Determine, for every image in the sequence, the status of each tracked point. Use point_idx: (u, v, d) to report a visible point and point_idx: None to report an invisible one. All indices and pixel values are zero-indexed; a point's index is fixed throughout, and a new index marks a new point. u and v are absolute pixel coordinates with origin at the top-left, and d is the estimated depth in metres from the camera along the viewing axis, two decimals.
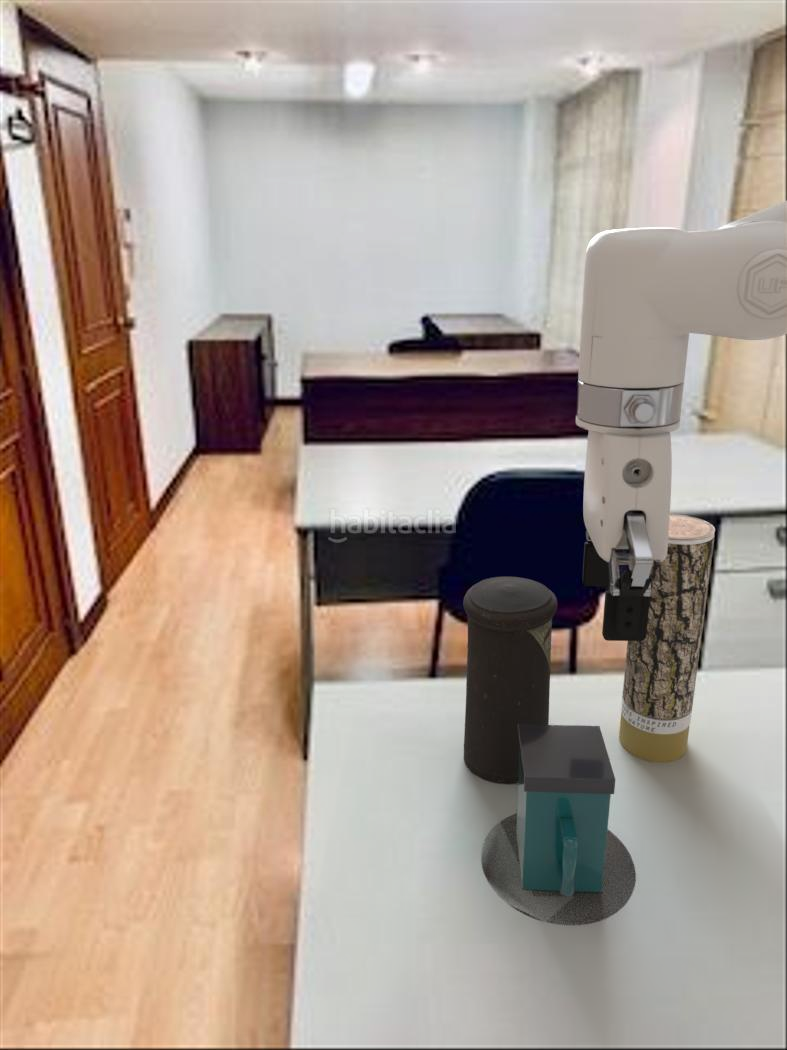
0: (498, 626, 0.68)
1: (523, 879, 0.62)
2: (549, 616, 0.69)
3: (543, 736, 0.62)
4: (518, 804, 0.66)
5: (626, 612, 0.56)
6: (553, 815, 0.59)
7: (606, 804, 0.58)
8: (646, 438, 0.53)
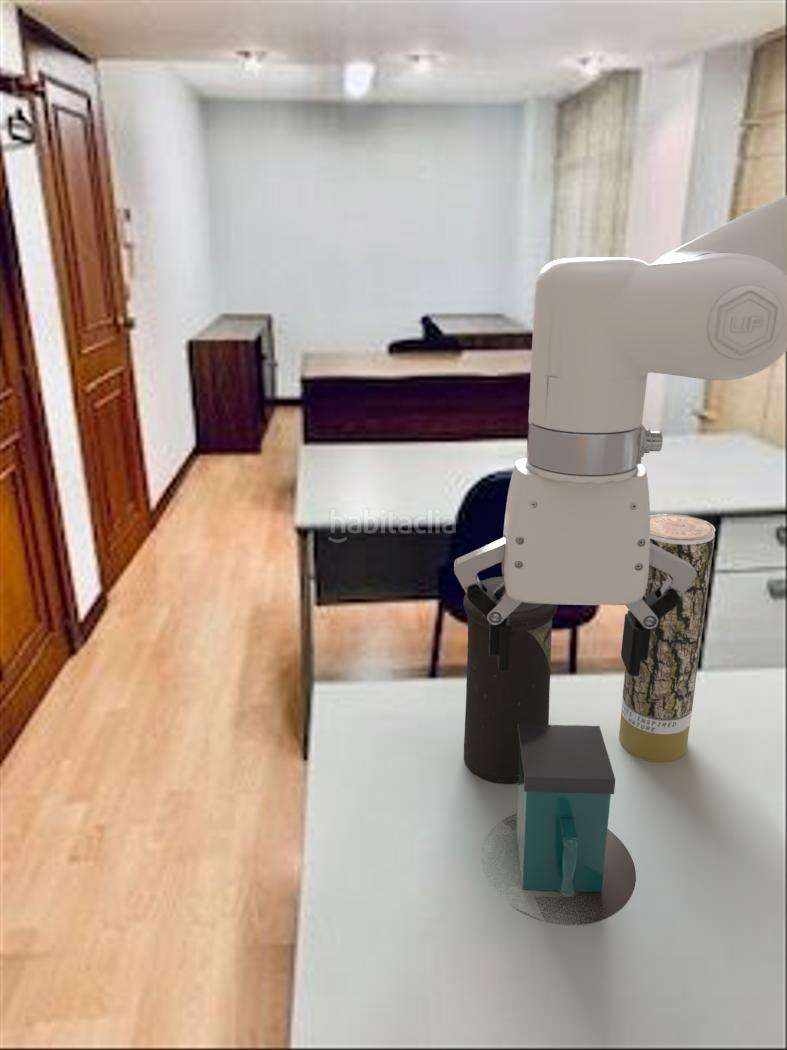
0: None
1: (523, 879, 0.62)
2: (549, 616, 0.69)
3: (543, 736, 0.62)
4: (518, 804, 0.66)
5: None
6: (553, 815, 0.59)
7: (606, 804, 0.58)
8: (644, 467, 0.53)
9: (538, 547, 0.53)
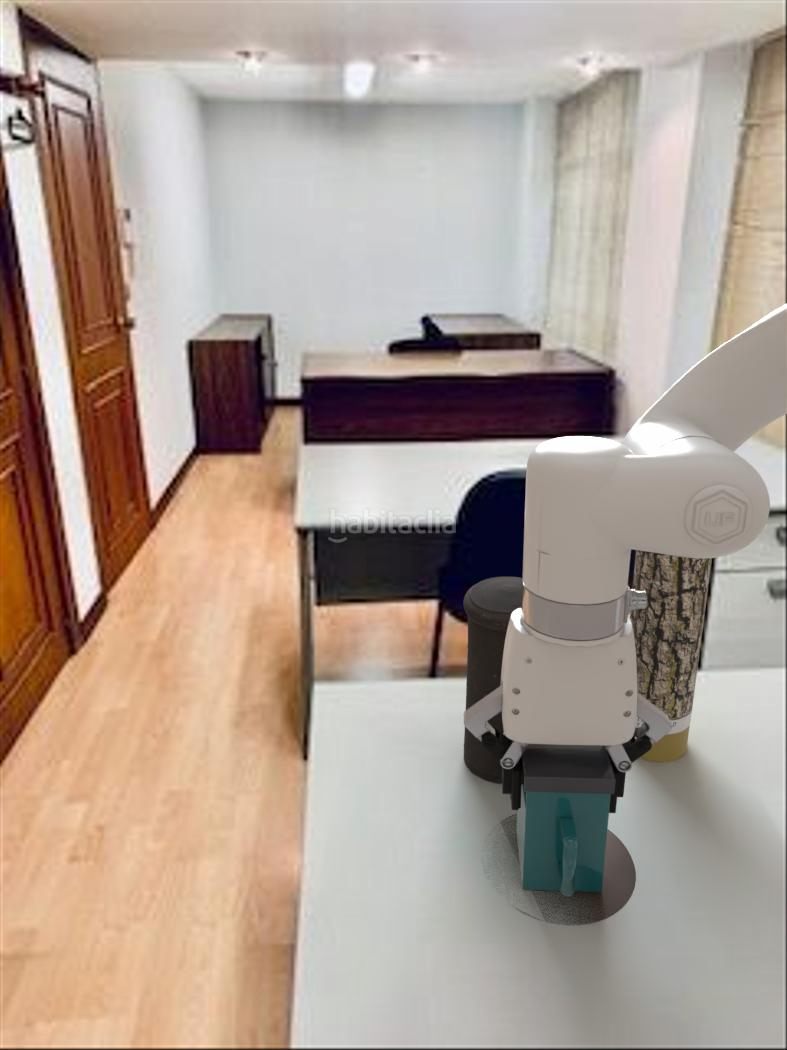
0: (498, 626, 0.68)
1: (523, 879, 0.62)
2: None
3: None
4: None
5: None
6: (553, 815, 0.59)
7: (606, 804, 0.58)
8: (630, 620, 0.57)
9: (533, 697, 0.57)
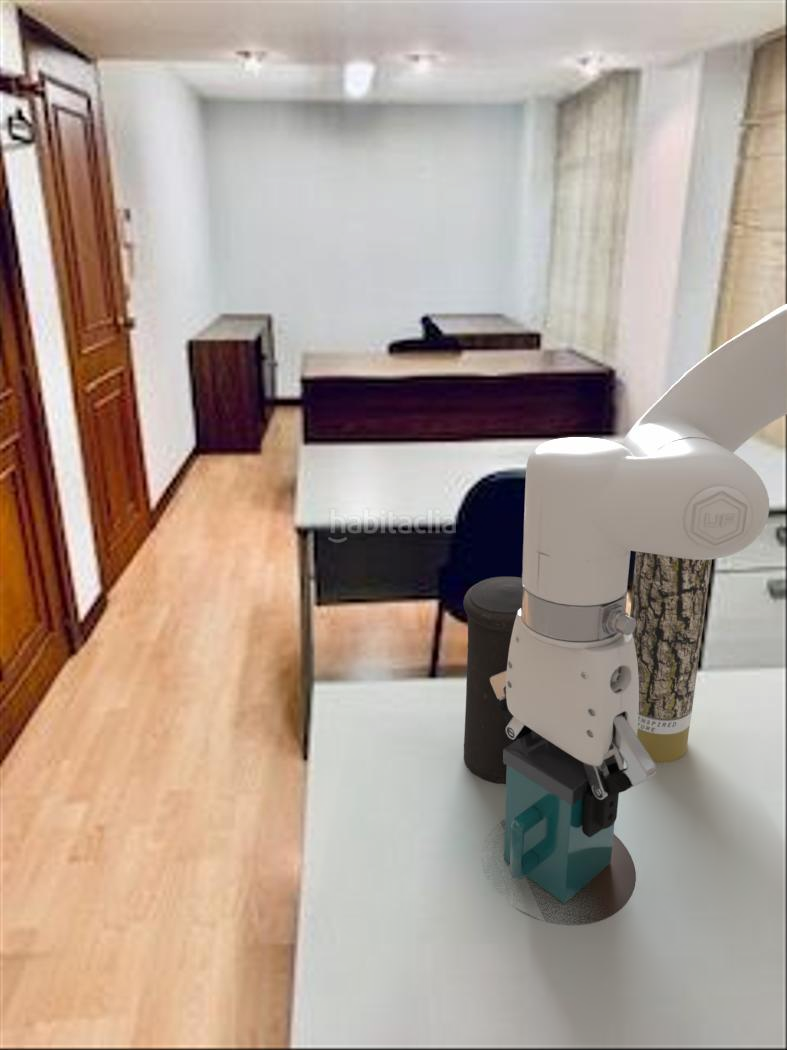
0: (498, 626, 0.68)
1: (504, 850, 0.65)
2: None
3: None
4: None
5: (609, 806, 0.58)
6: (526, 800, 0.61)
7: (567, 813, 0.58)
8: (623, 645, 0.54)
9: (519, 676, 0.59)
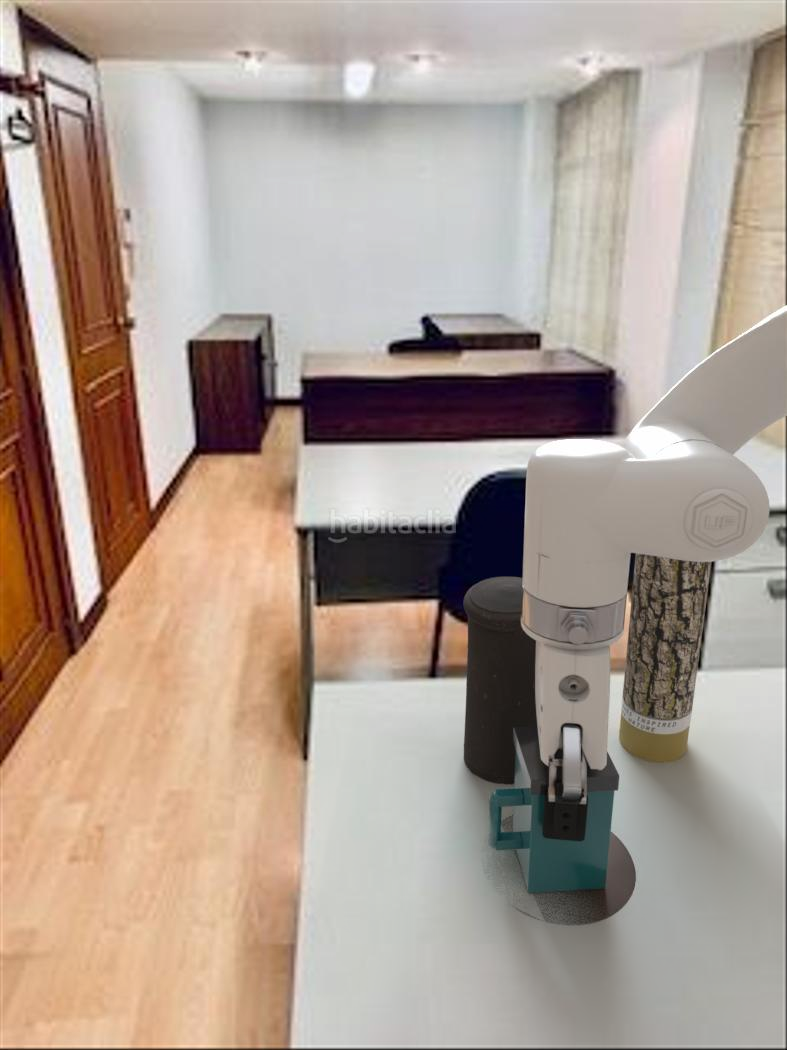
0: (498, 626, 0.68)
1: (513, 827, 0.67)
2: None
3: None
4: None
5: (563, 816, 0.57)
6: (520, 781, 0.63)
7: (531, 803, 0.59)
8: (582, 656, 0.53)
9: None
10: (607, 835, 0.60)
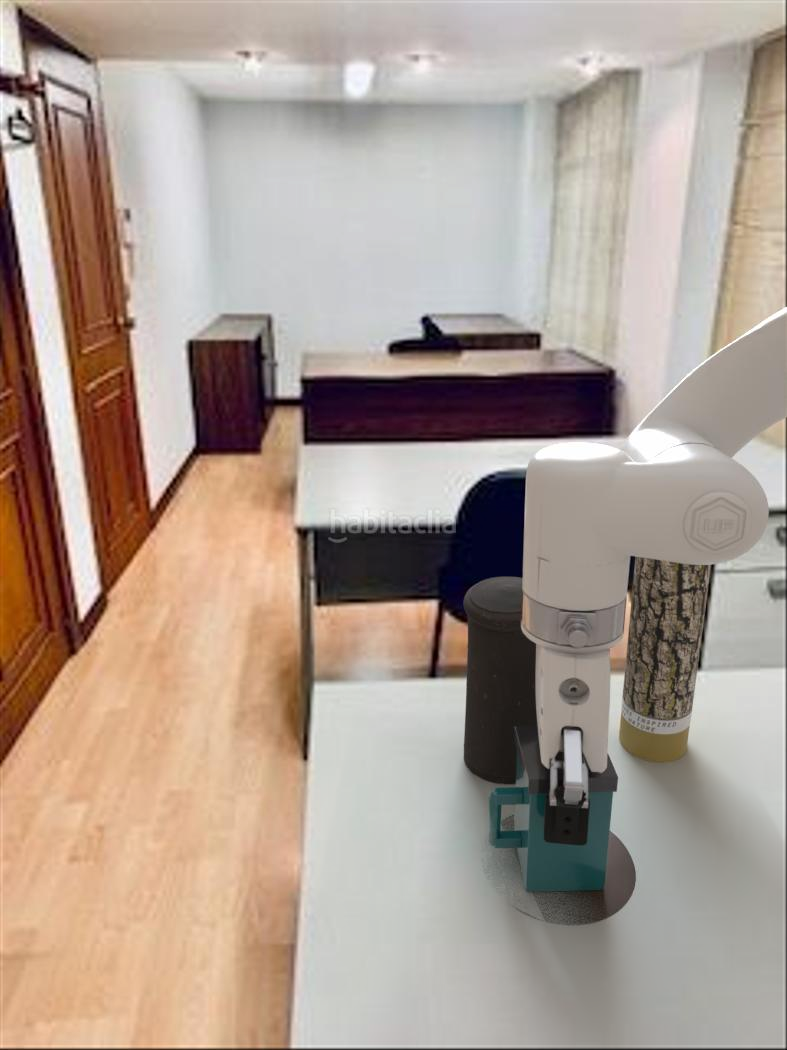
0: (498, 626, 0.68)
1: (514, 825, 0.67)
2: None
3: None
4: None
5: (565, 820, 0.56)
6: (520, 780, 0.63)
7: (529, 802, 0.59)
8: (582, 659, 0.53)
9: None
10: (606, 836, 0.60)
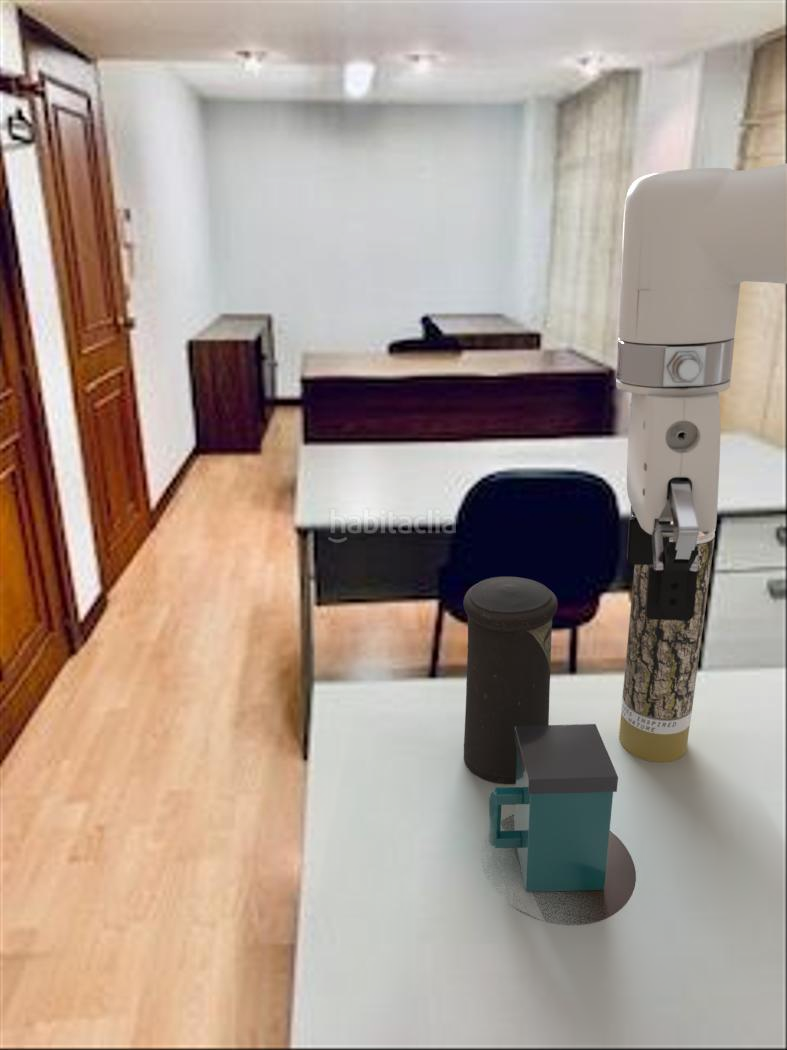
0: (498, 626, 0.68)
1: (514, 825, 0.67)
2: (549, 616, 0.69)
3: (581, 738, 0.62)
4: None
5: (671, 588, 0.52)
6: (520, 780, 0.63)
7: (529, 802, 0.59)
8: (691, 398, 0.49)
9: None
10: (606, 836, 0.60)
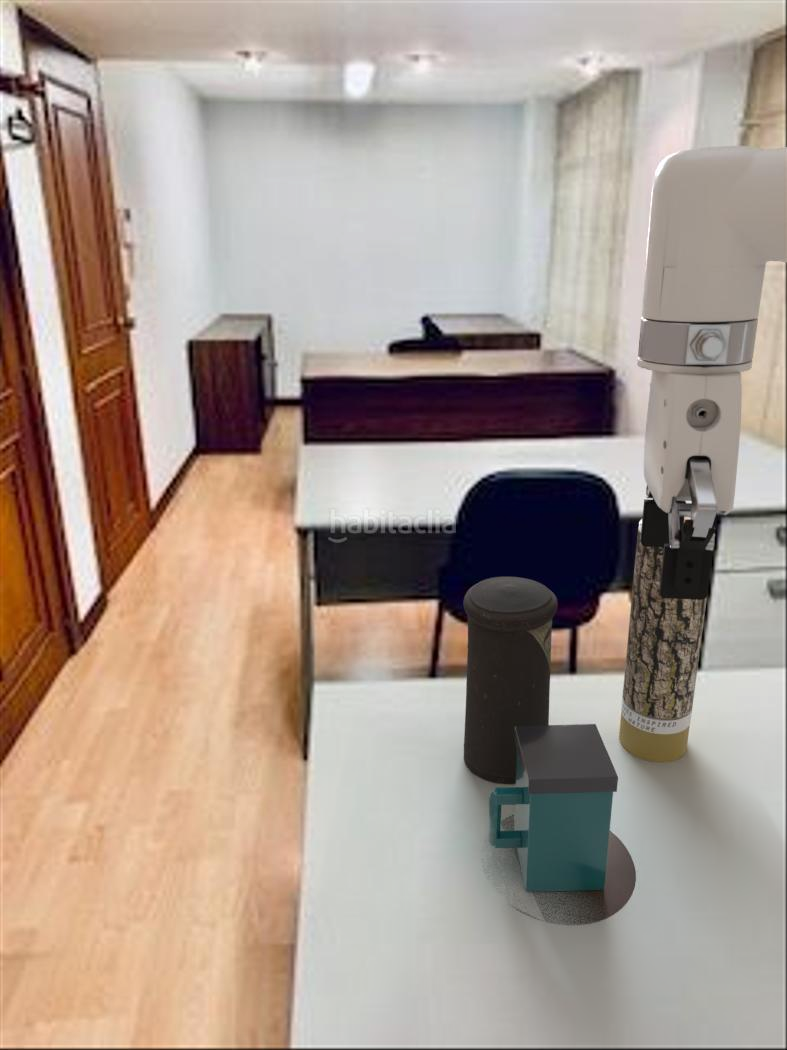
0: (498, 626, 0.68)
1: (514, 825, 0.67)
2: (549, 616, 0.69)
3: (581, 738, 0.62)
4: None
5: (687, 566, 0.53)
6: (520, 780, 0.63)
7: (529, 802, 0.59)
8: (714, 376, 0.49)
9: (646, 426, 0.58)
10: (606, 836, 0.60)
